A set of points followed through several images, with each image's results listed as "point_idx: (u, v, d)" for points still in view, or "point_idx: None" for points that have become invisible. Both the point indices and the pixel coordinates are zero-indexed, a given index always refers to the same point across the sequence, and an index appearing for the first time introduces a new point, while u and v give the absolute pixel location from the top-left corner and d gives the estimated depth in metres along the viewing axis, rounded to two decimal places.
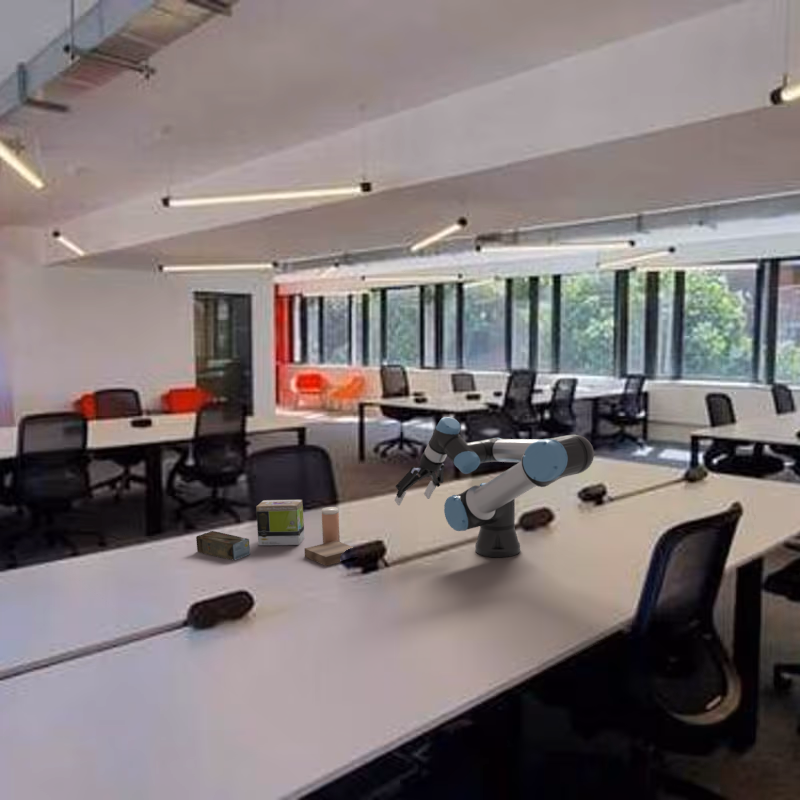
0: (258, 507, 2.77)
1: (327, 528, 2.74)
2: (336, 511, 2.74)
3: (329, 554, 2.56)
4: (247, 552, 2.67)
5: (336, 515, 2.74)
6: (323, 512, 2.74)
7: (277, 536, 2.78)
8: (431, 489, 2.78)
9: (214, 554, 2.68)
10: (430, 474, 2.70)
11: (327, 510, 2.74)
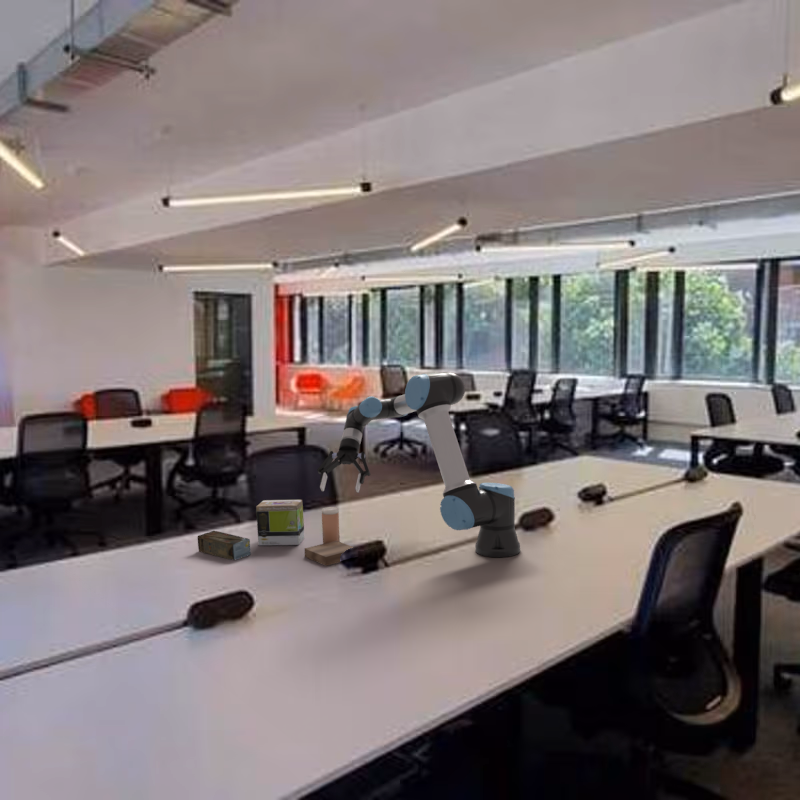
0: (258, 507, 2.77)
1: (327, 528, 2.74)
2: (336, 511, 2.74)
3: (329, 554, 2.56)
4: (247, 552, 2.67)
5: (336, 515, 2.74)
6: (323, 512, 2.74)
7: (277, 536, 2.78)
8: None
9: (215, 554, 2.68)
10: (349, 458, 2.92)
11: (327, 510, 2.74)
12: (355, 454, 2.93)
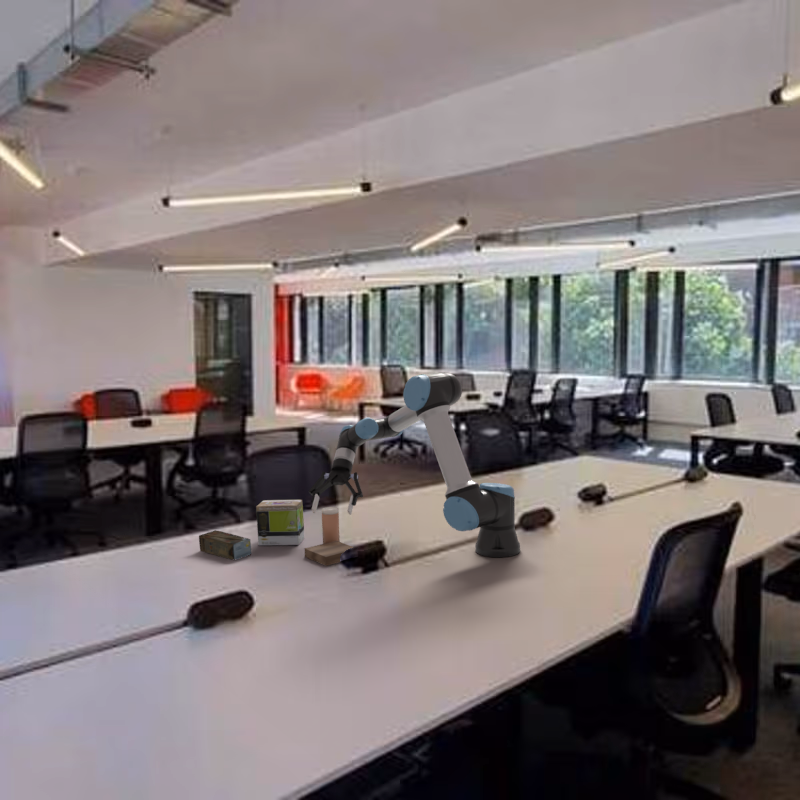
0: (258, 507, 2.77)
1: (327, 528, 2.74)
2: (336, 511, 2.74)
3: (329, 554, 2.56)
4: (248, 552, 2.67)
5: (336, 515, 2.74)
6: (323, 512, 2.74)
7: (277, 536, 2.78)
8: None
9: (216, 553, 2.68)
10: (341, 479, 2.86)
11: (327, 510, 2.74)
12: (348, 475, 2.87)
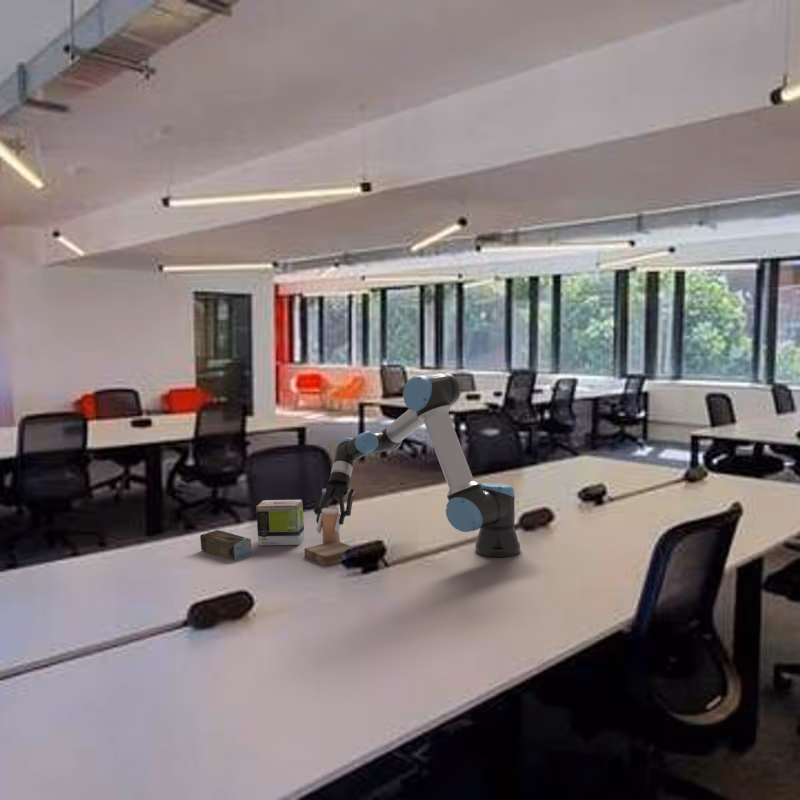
0: (258, 507, 2.77)
1: (327, 528, 2.74)
2: (336, 511, 2.74)
3: (329, 554, 2.56)
4: (249, 552, 2.67)
5: (336, 515, 2.74)
6: (323, 512, 2.74)
7: (277, 536, 2.78)
8: None
9: (216, 553, 2.69)
10: (337, 493, 2.81)
11: (327, 510, 2.74)
12: (345, 489, 2.82)
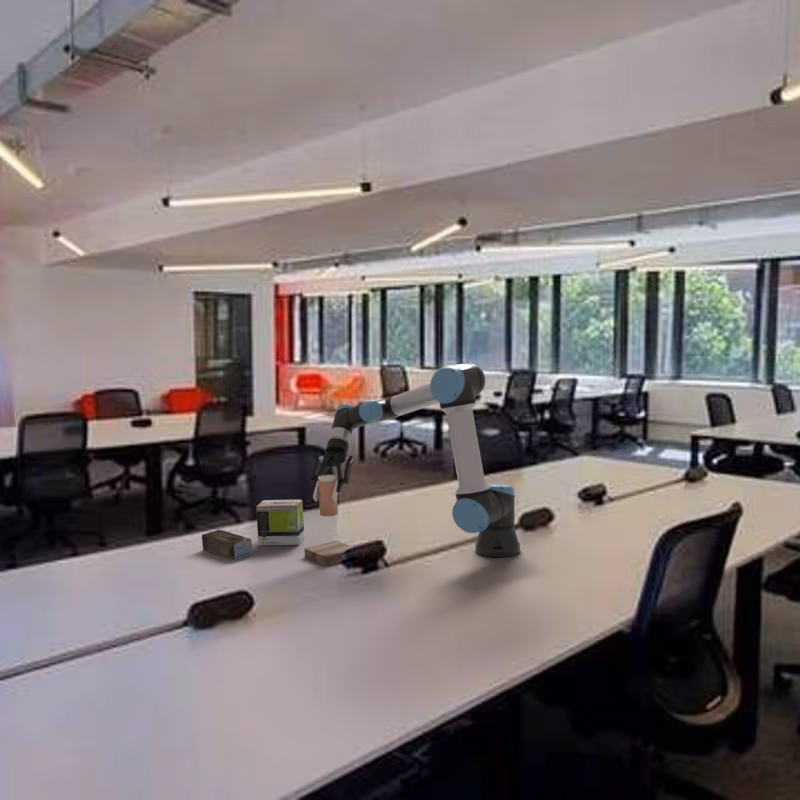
0: (258, 507, 2.77)
1: (324, 496, 2.61)
2: (333, 478, 2.61)
3: (329, 554, 2.56)
4: (249, 552, 2.67)
5: (333, 482, 2.62)
6: (320, 479, 2.61)
7: (277, 536, 2.78)
8: None
9: (217, 553, 2.69)
10: (335, 460, 2.69)
11: (324, 477, 2.62)
12: (343, 456, 2.69)
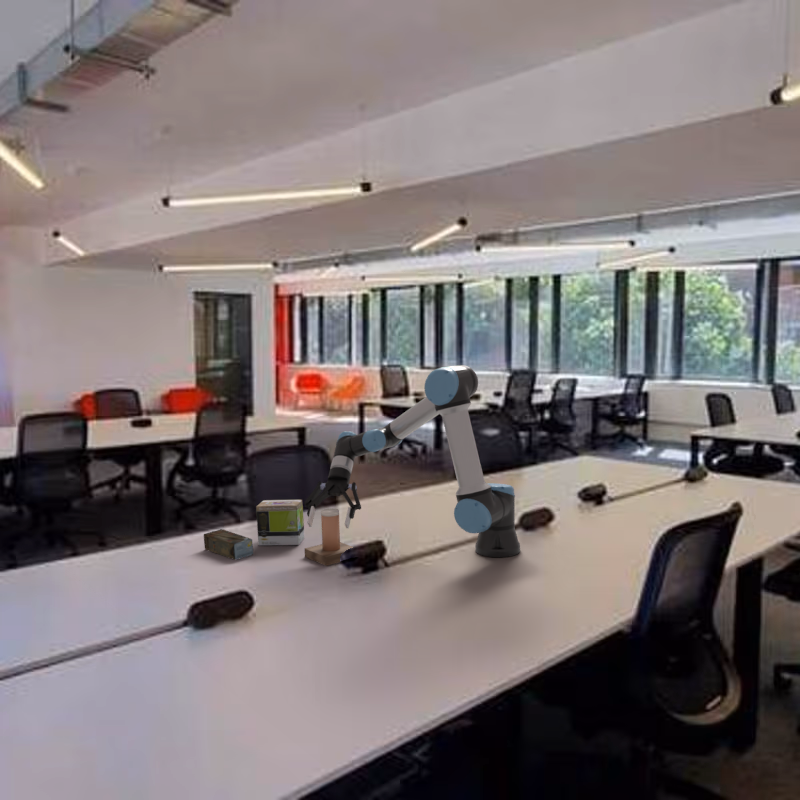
0: (258, 507, 2.77)
1: (327, 531, 2.59)
2: (336, 513, 2.60)
3: (329, 554, 2.56)
4: (250, 552, 2.67)
5: (336, 517, 2.60)
6: (323, 514, 2.59)
7: (277, 536, 2.78)
8: None
9: (218, 552, 2.69)
10: (339, 489, 2.66)
11: (327, 512, 2.60)
12: (345, 485, 2.67)
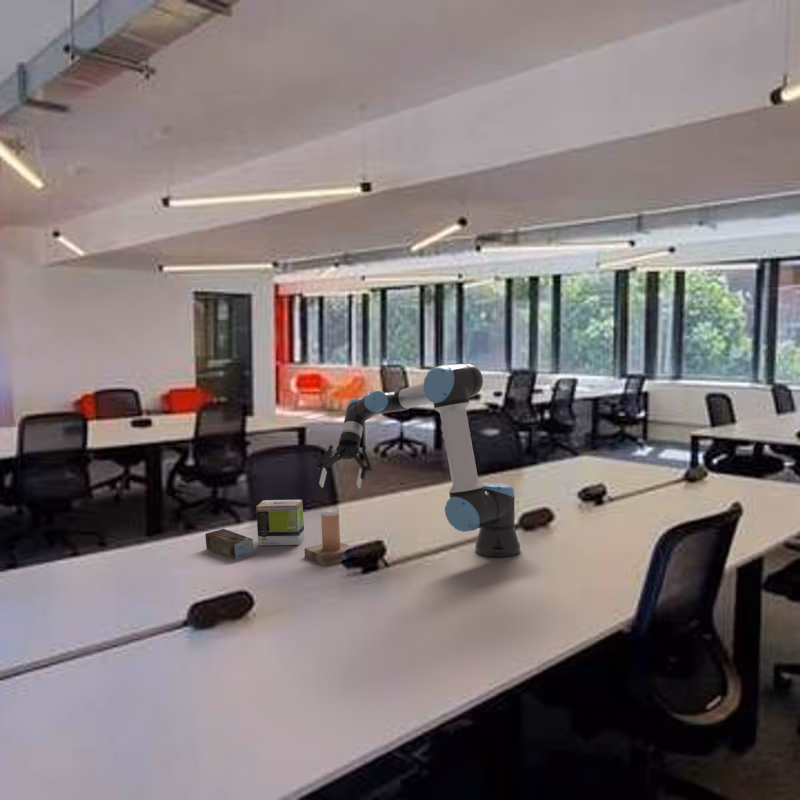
0: (258, 507, 2.77)
1: (327, 531, 2.59)
2: (336, 513, 2.60)
3: (329, 554, 2.56)
4: (250, 552, 2.67)
5: (336, 517, 2.60)
6: (323, 514, 2.59)
7: (277, 536, 2.78)
8: None
9: (219, 552, 2.70)
10: (349, 453, 2.78)
11: (327, 512, 2.60)
12: (356, 448, 2.79)
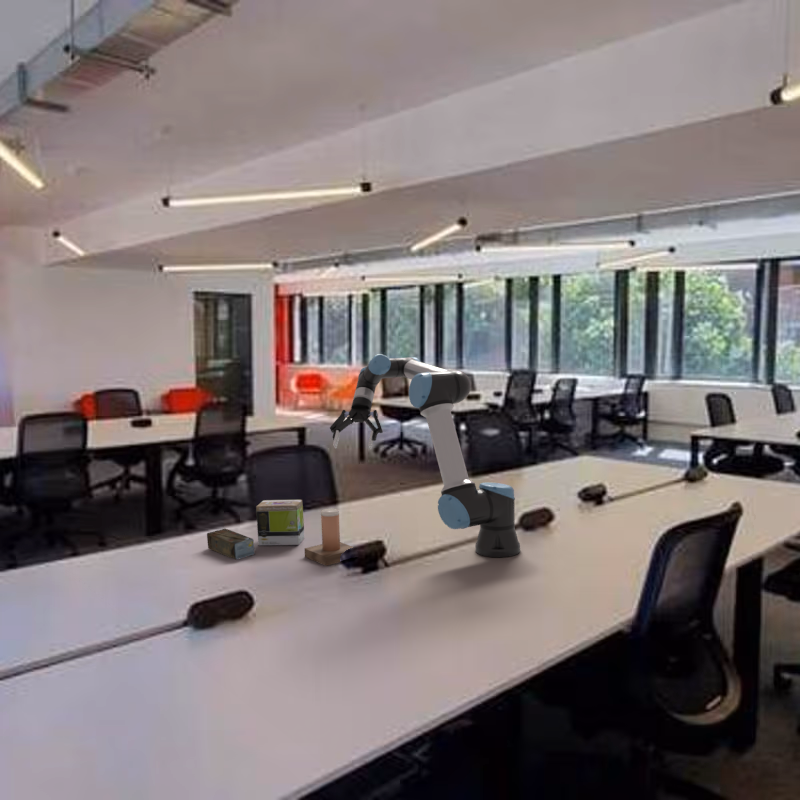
0: (258, 507, 2.77)
1: (327, 531, 2.59)
2: (336, 513, 2.60)
3: (329, 554, 2.56)
4: (251, 552, 2.67)
5: (336, 517, 2.60)
6: (323, 514, 2.59)
7: (277, 536, 2.78)
8: None
9: (220, 552, 2.70)
10: (361, 416, 2.95)
11: (327, 512, 2.60)
12: (367, 412, 2.96)
